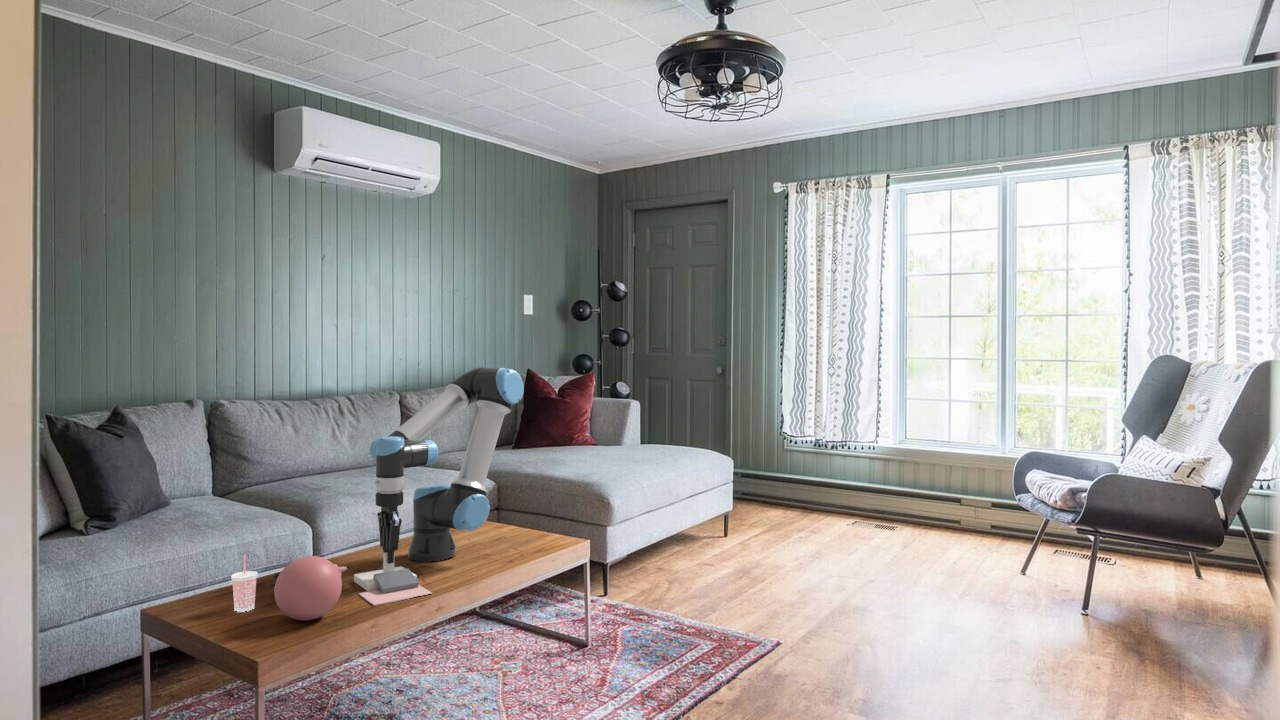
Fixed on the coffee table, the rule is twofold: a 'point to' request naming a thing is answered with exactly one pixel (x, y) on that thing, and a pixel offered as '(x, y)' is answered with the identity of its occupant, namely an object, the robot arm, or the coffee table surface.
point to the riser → (371, 579)
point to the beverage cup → (244, 589)
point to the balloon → (308, 587)
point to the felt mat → (393, 595)
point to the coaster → (395, 580)
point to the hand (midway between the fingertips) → (388, 573)
